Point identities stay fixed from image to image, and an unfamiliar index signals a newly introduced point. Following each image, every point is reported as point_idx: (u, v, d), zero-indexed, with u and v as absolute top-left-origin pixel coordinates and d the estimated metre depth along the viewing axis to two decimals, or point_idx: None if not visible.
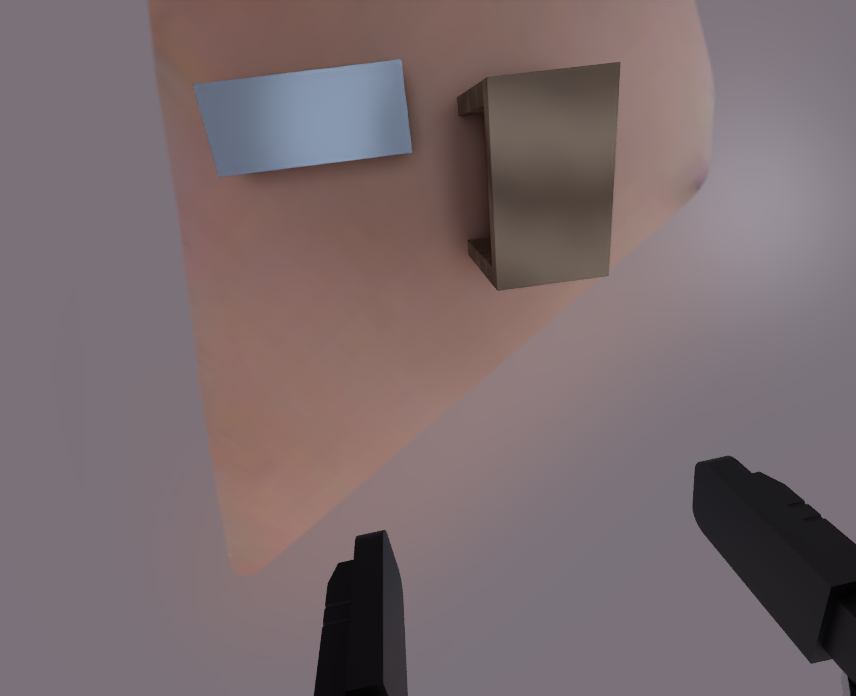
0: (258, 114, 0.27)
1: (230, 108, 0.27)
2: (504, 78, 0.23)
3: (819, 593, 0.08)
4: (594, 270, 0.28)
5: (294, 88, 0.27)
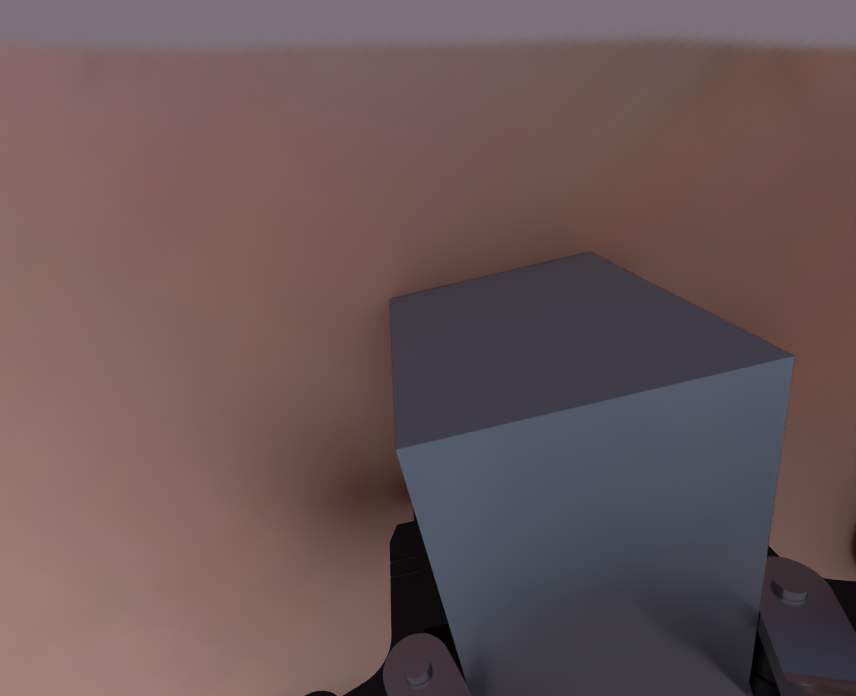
0: (645, 571, 0.07)
1: (678, 489, 0.06)
2: None
3: None
4: None
5: (707, 652, 0.08)
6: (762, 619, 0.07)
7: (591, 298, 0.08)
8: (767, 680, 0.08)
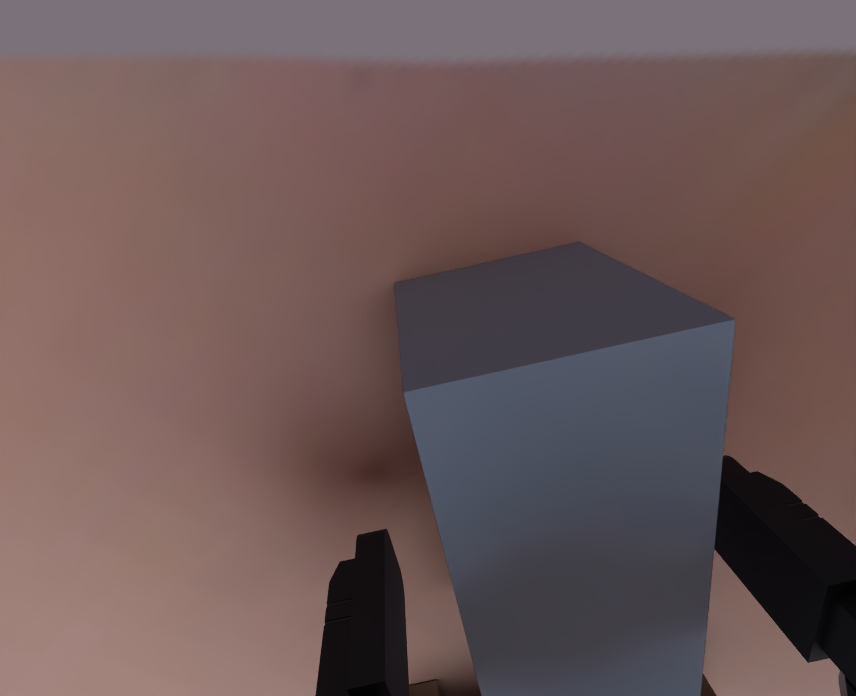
0: (614, 509, 0.08)
1: (640, 435, 0.07)
2: None
3: (816, 592, 0.08)
4: None
5: (670, 587, 0.09)
6: None
7: (574, 278, 0.10)
8: None
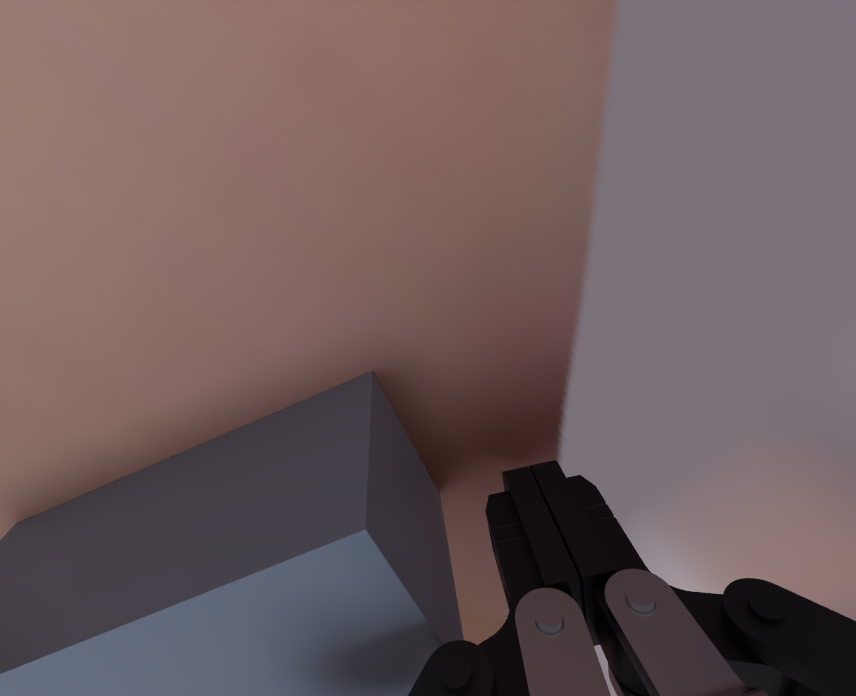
0: (289, 688, 0.09)
1: (367, 676, 0.09)
2: None
3: (581, 583, 0.09)
4: None
5: None
6: (630, 644, 0.08)
7: (434, 532, 0.12)
8: (642, 695, 0.08)
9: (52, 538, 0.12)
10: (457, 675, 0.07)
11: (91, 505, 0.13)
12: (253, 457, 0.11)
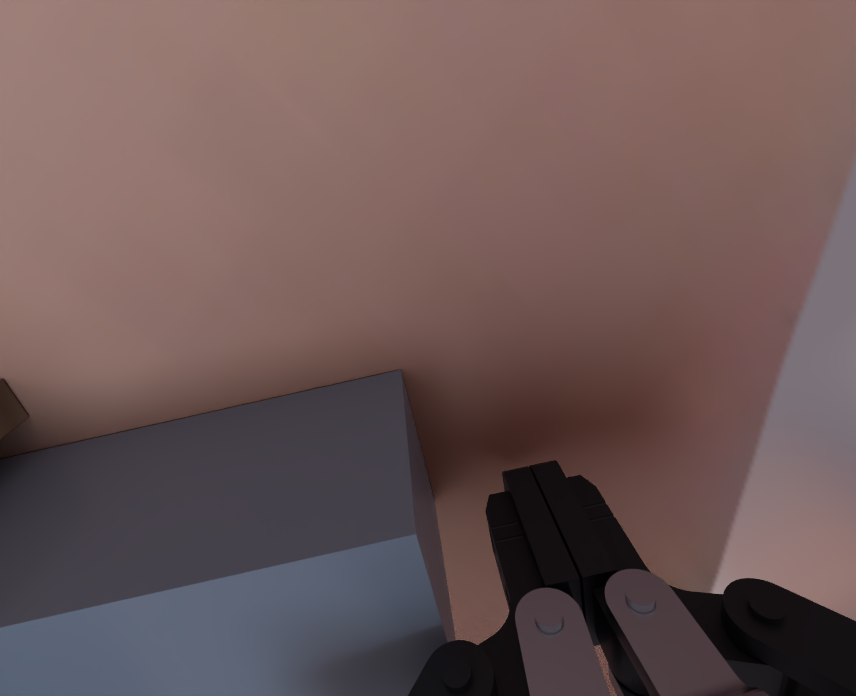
0: (286, 685, 0.09)
1: (368, 683, 0.09)
2: None
3: (581, 583, 0.09)
4: None
5: None
6: (630, 644, 0.08)
7: (437, 543, 0.12)
8: (642, 695, 0.08)
9: (31, 489, 0.11)
10: (458, 674, 0.07)
11: (78, 460, 0.12)
12: (272, 439, 0.11)
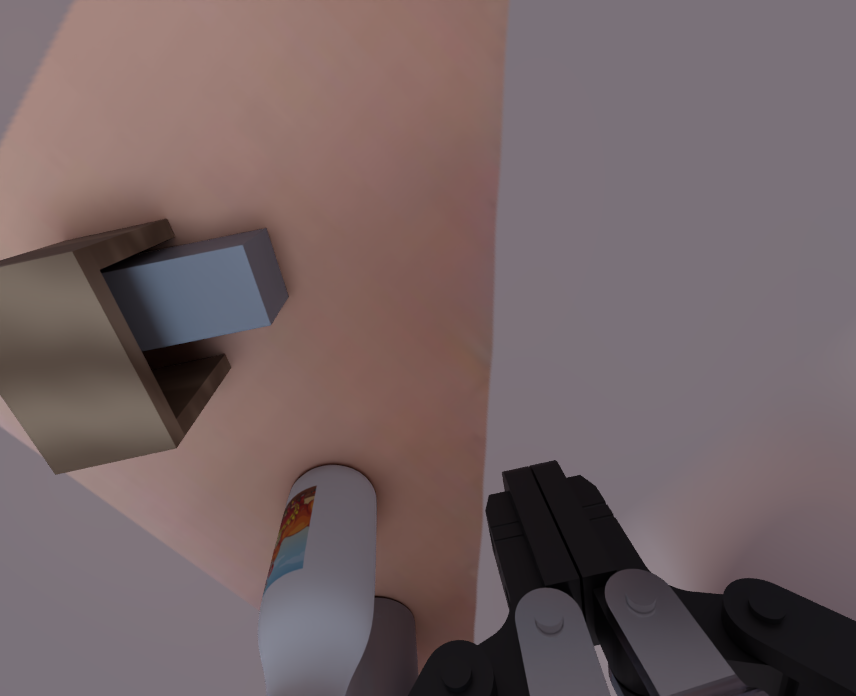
0: (207, 306, 0.27)
1: (235, 309, 0.27)
2: (160, 449, 0.26)
3: (582, 583, 0.09)
4: None
5: (174, 331, 0.28)
6: (630, 644, 0.08)
7: (276, 292, 0.30)
8: (642, 695, 0.08)
9: None
10: (457, 675, 0.07)
11: (134, 256, 0.30)
12: (209, 243, 0.29)
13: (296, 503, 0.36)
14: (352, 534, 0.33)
